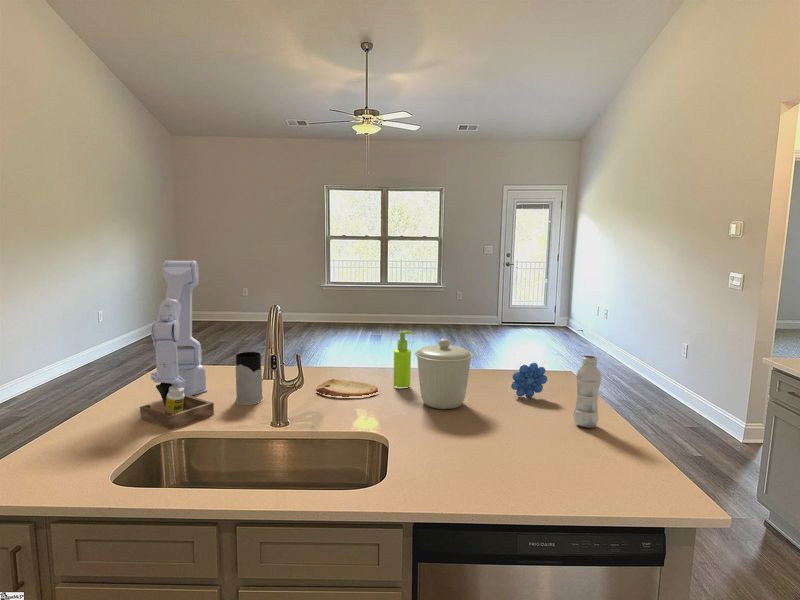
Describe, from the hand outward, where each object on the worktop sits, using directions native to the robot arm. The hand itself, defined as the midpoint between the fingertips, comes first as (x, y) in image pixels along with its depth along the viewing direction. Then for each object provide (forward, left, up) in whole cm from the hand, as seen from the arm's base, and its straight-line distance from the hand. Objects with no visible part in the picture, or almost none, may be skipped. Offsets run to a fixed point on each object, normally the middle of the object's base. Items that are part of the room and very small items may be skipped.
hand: (169, 407), depth 145 cm
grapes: (-77, +82, -2) cm, 113 cm away
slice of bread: (-46, +30, -2) cm, 55 cm away
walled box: (0, +4, -2) cm, 5 cm away
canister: (-54, +62, -2) cm, 82 cm away
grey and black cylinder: (-24, +9, -2) cm, 26 cm away
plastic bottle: (-61, +104, -2) cm, 121 cm away
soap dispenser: (-62, +42, -2) cm, 75 cm away
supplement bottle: (0, +2, -2) cm, 3 cm away
